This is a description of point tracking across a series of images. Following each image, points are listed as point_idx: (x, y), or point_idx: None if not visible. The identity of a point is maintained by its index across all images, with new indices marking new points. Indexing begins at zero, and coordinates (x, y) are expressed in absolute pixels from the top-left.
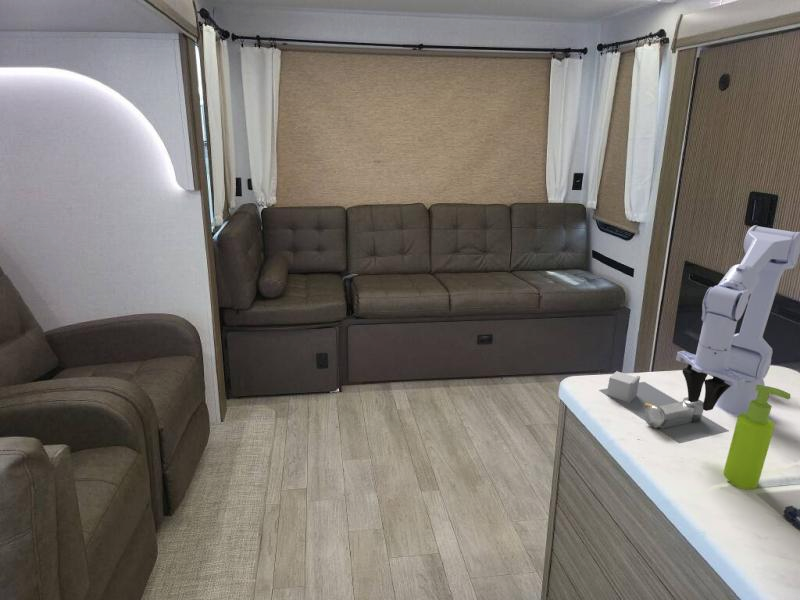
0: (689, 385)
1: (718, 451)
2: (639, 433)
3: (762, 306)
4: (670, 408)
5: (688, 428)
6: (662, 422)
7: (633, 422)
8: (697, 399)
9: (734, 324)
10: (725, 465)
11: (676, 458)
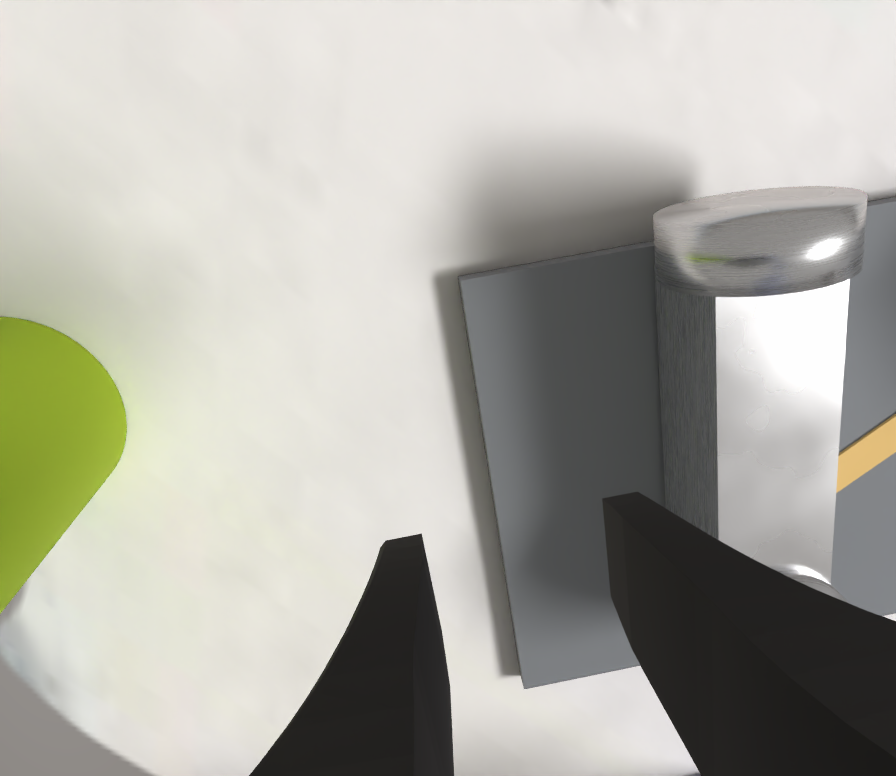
0: (765, 607)
1: (350, 497)
2: (675, 64)
3: None
4: (779, 416)
5: (610, 471)
6: (659, 246)
7: (821, 127)
8: (617, 601)
9: None
10: (27, 362)
11: (303, 135)
